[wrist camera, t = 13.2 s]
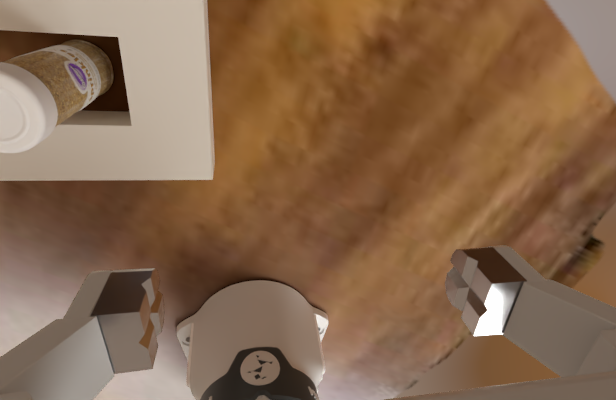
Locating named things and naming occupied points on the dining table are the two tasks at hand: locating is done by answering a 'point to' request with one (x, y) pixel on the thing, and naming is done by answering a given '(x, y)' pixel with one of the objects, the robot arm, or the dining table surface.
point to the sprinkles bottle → (48, 90)
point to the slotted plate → (128, 94)
